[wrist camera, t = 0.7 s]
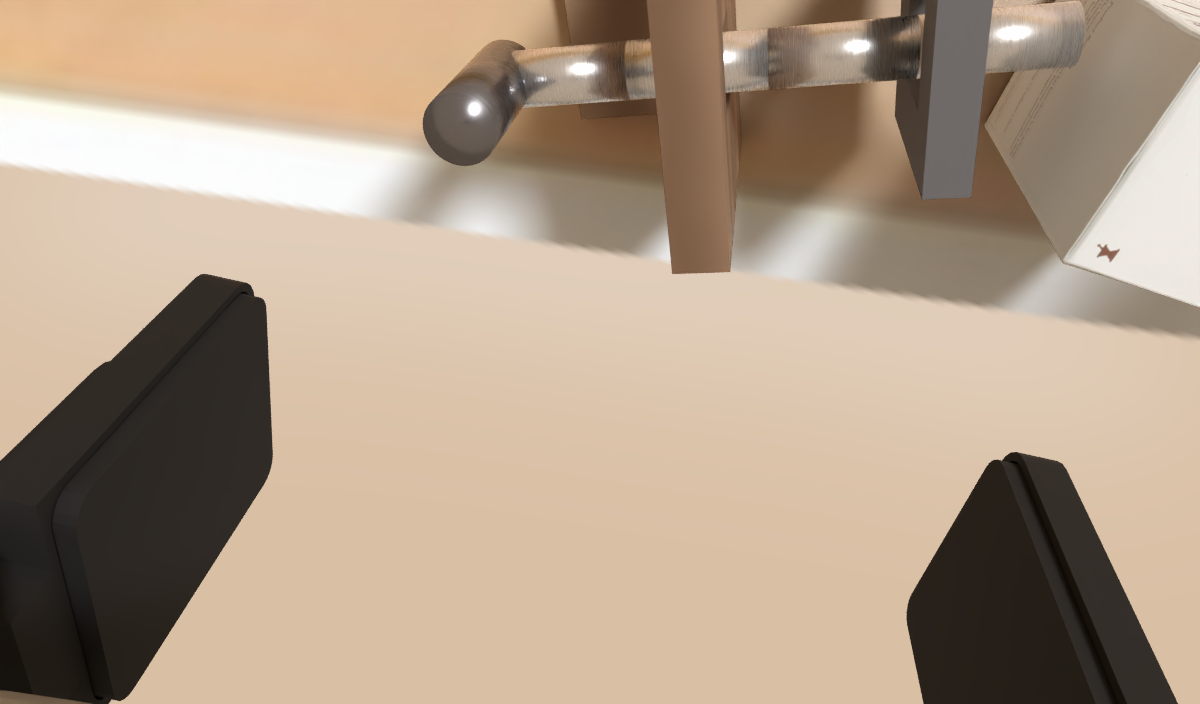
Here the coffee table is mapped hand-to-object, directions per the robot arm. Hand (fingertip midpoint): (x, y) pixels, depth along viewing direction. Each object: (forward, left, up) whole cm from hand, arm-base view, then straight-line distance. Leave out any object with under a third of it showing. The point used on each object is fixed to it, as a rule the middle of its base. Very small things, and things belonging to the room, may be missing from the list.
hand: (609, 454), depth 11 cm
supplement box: (-15, +5, -31) cm, 35 cm away
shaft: (-1, +1, -23) cm, 23 cm away
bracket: (+3, +1, -30) cm, 31 cm away
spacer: (-7, +1, -27) cm, 28 cm away
